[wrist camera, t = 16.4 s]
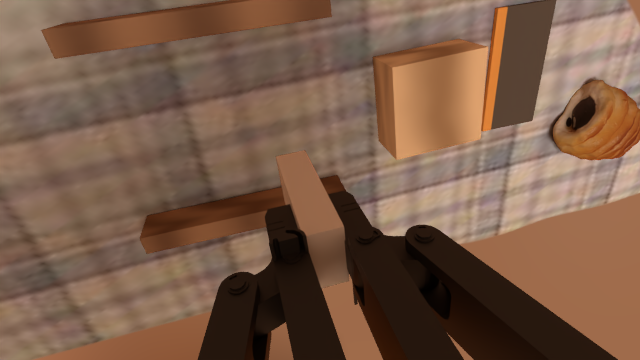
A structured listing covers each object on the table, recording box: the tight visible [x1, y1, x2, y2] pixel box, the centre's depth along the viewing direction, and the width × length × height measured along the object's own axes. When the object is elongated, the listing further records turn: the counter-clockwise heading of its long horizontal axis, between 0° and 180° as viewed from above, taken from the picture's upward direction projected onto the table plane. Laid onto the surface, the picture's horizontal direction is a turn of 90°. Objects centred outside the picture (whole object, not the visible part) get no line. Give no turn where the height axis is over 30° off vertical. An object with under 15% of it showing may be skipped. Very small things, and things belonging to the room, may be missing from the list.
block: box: [373, 39, 488, 160], centre depth 28 cm, size 7×7×4 cm
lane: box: [41, 0, 346, 254], centre depth 26 cm, size 16×16×3 cm
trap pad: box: [481, 0, 556, 131], centre depth 30 cm, size 5×10×1 cm, turn 7°
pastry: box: [553, 80, 640, 160], centre depth 34 cm, size 9×7×4 cm
